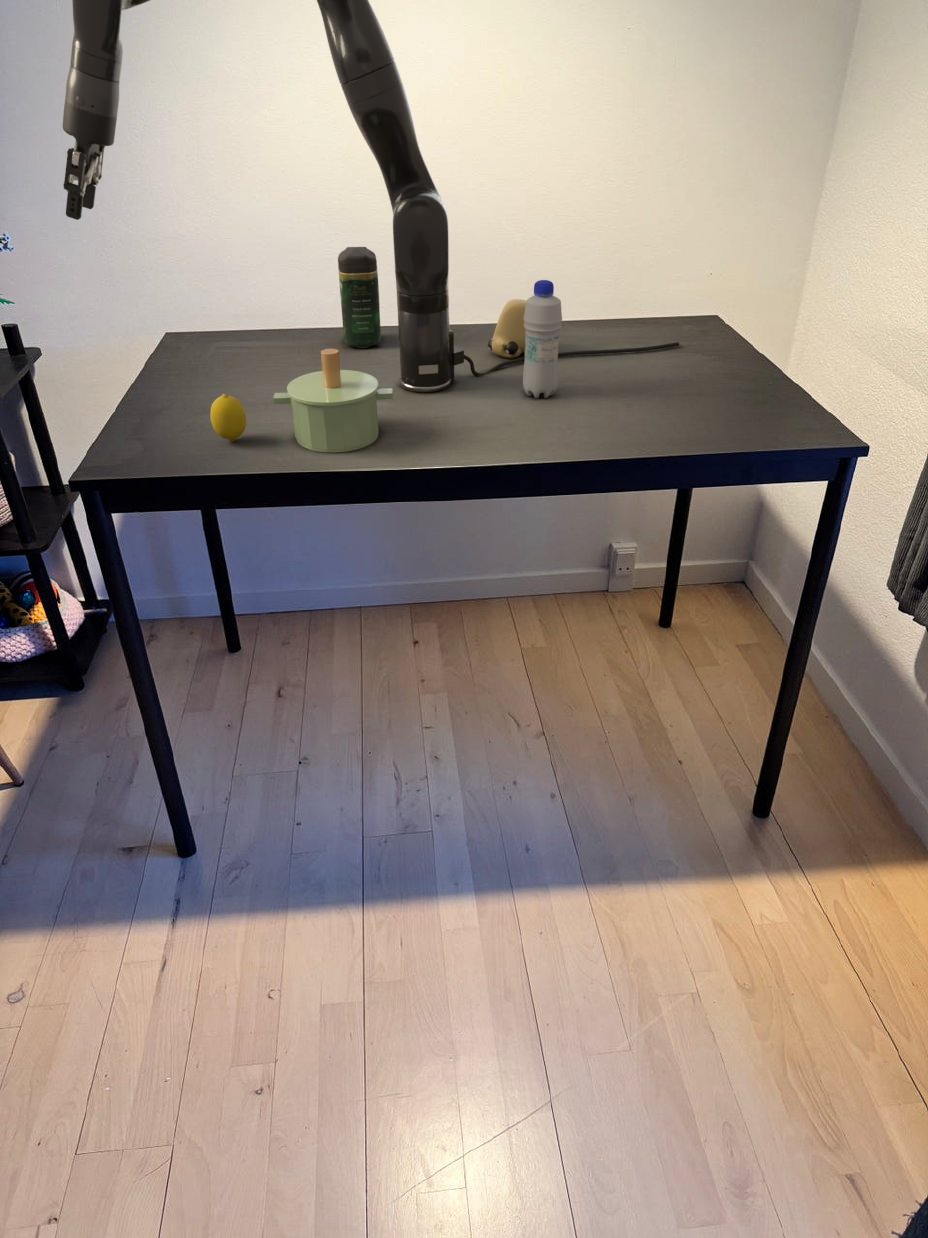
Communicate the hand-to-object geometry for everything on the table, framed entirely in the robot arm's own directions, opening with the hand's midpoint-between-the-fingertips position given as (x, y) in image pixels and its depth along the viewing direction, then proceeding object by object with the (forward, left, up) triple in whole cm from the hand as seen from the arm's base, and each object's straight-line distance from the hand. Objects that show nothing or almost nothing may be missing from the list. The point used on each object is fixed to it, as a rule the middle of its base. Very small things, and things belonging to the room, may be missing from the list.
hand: (79, 212), depth 146 cm
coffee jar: (-50, +7, -31) cm, 60 cm away
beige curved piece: (-69, +34, -31) cm, 83 cm away
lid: (-18, +43, -23) cm, 52 cm away
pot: (-18, +43, -31) cm, 56 cm away
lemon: (-4, +33, -31) cm, 45 cm away
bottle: (-56, +53, -31) cm, 83 cm away
